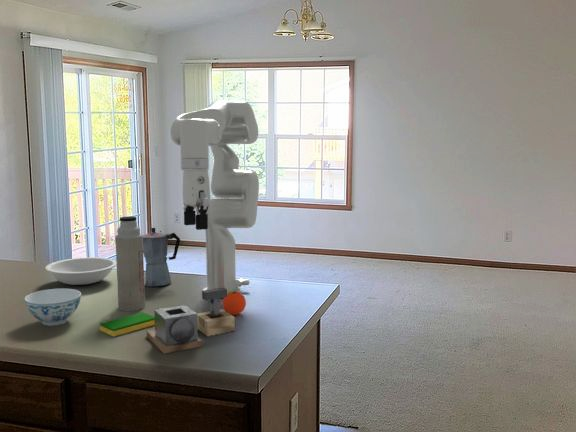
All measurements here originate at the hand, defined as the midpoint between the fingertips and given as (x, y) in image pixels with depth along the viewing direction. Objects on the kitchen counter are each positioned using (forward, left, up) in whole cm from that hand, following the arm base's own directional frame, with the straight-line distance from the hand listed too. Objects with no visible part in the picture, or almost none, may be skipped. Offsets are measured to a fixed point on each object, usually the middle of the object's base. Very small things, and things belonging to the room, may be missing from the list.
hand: (195, 227), depth 169 cm
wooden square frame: (-2, +7, -28) cm, 29 cm away
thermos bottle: (+12, -25, -28) cm, 39 cm away
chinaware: (+35, -22, -28) cm, 50 cm away
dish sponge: (+18, -7, -28) cm, 34 cm away
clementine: (-12, -3, -28) cm, 31 cm away
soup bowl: (+19, -62, -28) cm, 71 cm away
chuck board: (+11, +10, -28) cm, 31 cm away
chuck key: (-2, +7, -28) cm, 29 cm away
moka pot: (-4, -47, -28) cm, 55 cm away
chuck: (+11, +8, -26) cm, 29 cm away
